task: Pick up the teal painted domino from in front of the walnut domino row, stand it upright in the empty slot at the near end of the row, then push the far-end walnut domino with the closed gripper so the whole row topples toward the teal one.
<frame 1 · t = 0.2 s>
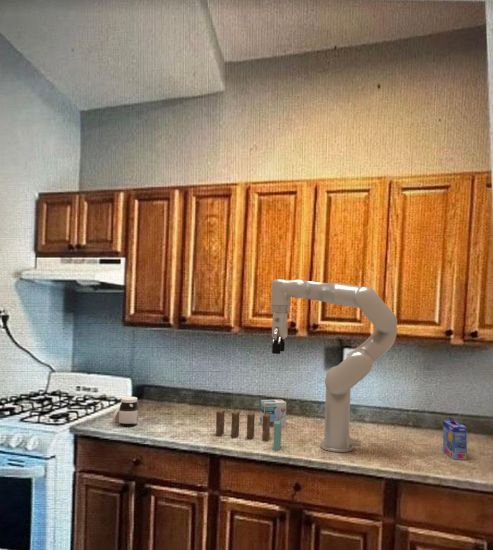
hand: (278, 352, 208), 36 cm above the worktop, tool pointing down, fingers open, 9 cm apart
spread jar: (124, 424, 227), on the worktop
teal domino: (277, 448, 198), on the worktop
walnut domino 4: (265, 439, 210), on the worktop
walnut domino 3: (250, 437, 212), on the worktop
walnut domino 1: (219, 434, 215), on the worktop
light bulb box: (272, 425, 234), on the worktop
walnut domino 2: (235, 436, 213), on the worktop
ink cartridge box: (454, 456, 197), on the worktop
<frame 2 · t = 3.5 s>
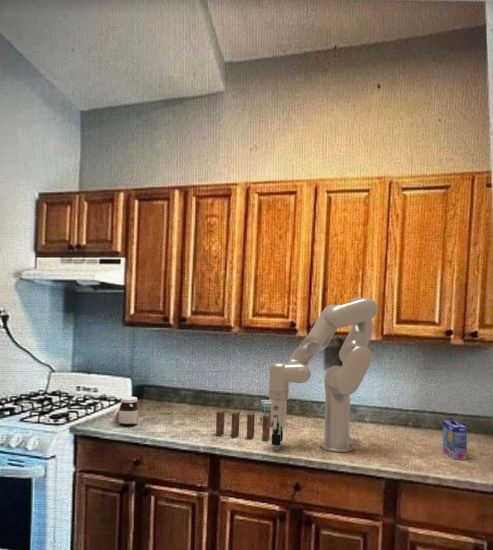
hand: (277, 442, 198), 2 cm above the worktop, tool pointing down, fingers closed on teal domino, 4 cm apart
teal domino: (276, 448, 198), on the worktop, touching gripper
everything else where it was.
when the fingers open (3 cm above the worktop, at t = 9.5 s): teal domino stays where it is, on the worktop.
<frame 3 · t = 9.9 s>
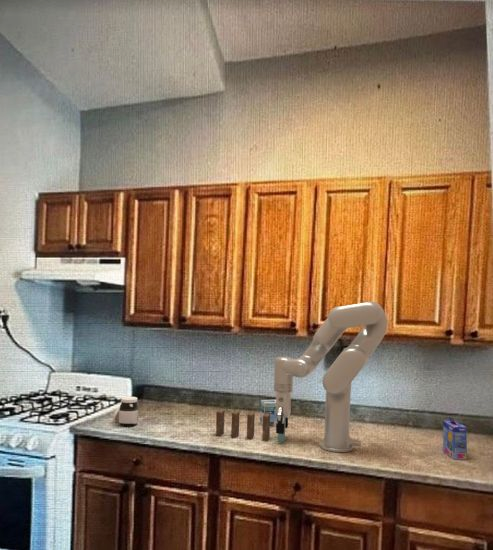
hand: (281, 430, 209), 4 cm above the worktop, tool pointing down, fingers open, 9 cm apart
teal domino: (281, 440, 209), on the worktop
everything else where it was.
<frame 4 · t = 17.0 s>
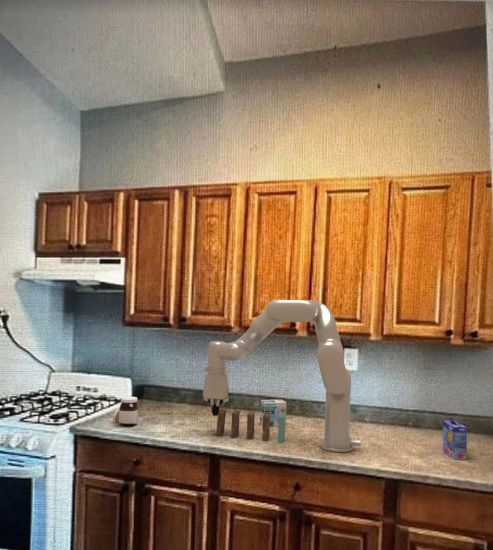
hand: (215, 415, 215), 8 cm above the worktop, tool pointing down, fingers closed
walnut domino 1: (219, 434, 215), on the worktop, touching gripper
everything else where it was.
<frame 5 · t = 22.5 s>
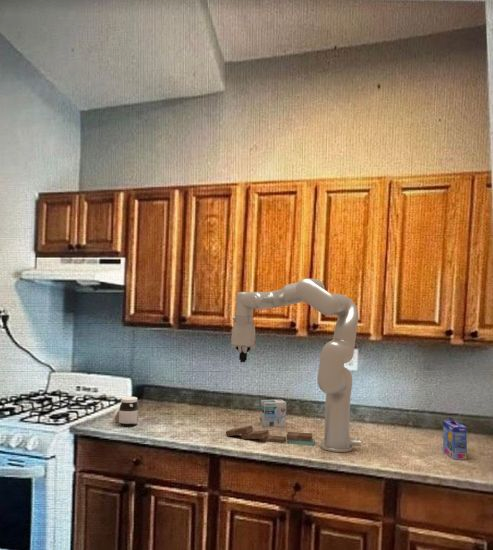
hand: (242, 361, 226), 29 cm above the worktop, tool pointing down, fingers closed
teal domino: (289, 440, 208), on the worktop, tilted 90°, touching walnut domino 4
walnut domino 4: (287, 435, 208), point 2 cm above the worktop, tilted 90°, touching teal domino
walnut domino 3: (260, 438, 210), on the worktop, tilted 90°, touching walnut domino 2
walnut domino 1: (229, 432, 215), point 1 cm above the worktop, tilted 73°, touching walnut domino 2
walnut domino 2: (244, 435, 212), point 1 cm above the worktop, tilted 79°, touching walnut domino 1, walnut domino 3
everything else where it was.
at the end: teal domino tilted 90°; walnut domino 3 tilted 90°; the gripper is holding nothing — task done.
